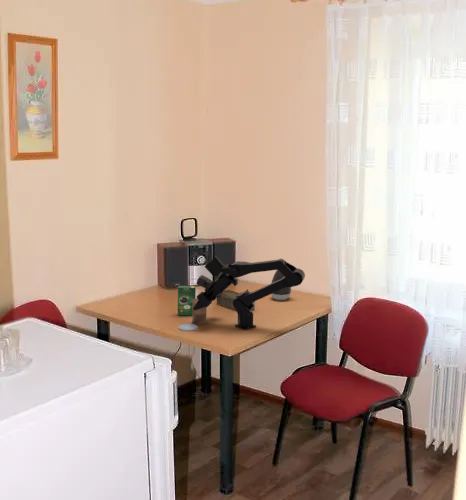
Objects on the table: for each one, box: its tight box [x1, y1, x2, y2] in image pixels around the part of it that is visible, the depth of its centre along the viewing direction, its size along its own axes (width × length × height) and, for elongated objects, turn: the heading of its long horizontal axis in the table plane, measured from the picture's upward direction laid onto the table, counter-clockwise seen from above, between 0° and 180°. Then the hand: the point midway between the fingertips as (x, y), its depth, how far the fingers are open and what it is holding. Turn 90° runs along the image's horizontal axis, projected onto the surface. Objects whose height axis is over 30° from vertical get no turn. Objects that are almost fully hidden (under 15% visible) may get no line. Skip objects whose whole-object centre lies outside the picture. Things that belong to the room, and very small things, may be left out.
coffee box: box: [177, 285, 197, 316], centre depth 277 cm, size 8×3×13 cm, turn 93°
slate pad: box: [178, 323, 199, 332], centre depth 261 cm, size 8×8×1 cm
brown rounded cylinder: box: [191, 297, 207, 326], centre depth 267 cm, size 6×6×10 cm
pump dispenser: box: [270, 270, 292, 301], centre depth 303 cm, size 10×10×15 cm
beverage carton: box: [216, 289, 256, 312], centre depth 290 cm, size 8×19×7 cm, turn 41°
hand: (196, 307), depth 267 cm, fingers closed on brown rounded cylinder, 6 cm apart
